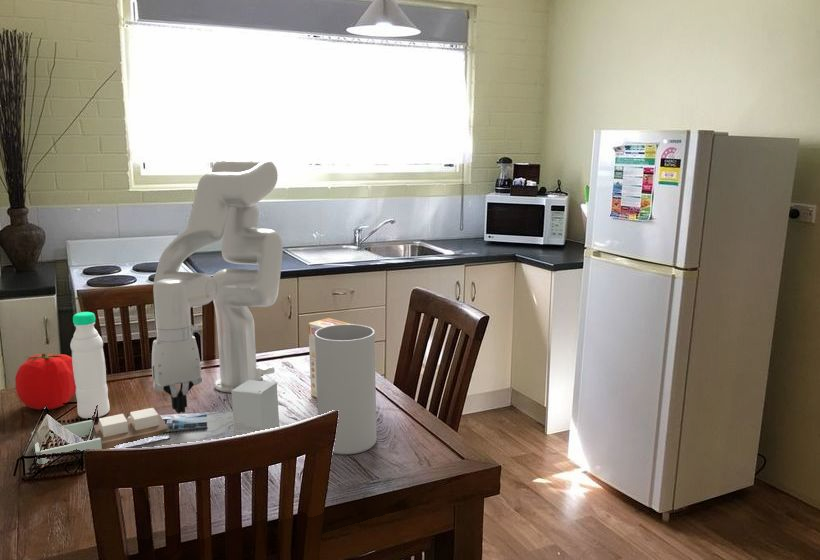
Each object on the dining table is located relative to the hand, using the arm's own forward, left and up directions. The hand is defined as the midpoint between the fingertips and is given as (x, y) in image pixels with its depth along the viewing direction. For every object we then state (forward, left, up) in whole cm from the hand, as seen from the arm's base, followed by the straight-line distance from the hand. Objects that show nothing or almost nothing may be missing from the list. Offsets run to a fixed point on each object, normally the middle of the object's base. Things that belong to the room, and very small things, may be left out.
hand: (179, 410), depth 160 cm
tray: (+24, 0, -4) cm, 24 cm away
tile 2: (+8, 0, -1) cm, 8 cm away
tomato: (+24, -31, -4) cm, 39 cm away
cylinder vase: (-28, +29, -4) cm, 41 cm away
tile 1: (+14, 0, -1) cm, 14 cm away
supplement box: (-12, +17, -4) cm, 21 cm away
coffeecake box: (-38, +5, -4) cm, 39 cm away
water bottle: (+16, -19, -4) cm, 25 cm away
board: (+11, 0, -4) cm, 11 cm away
